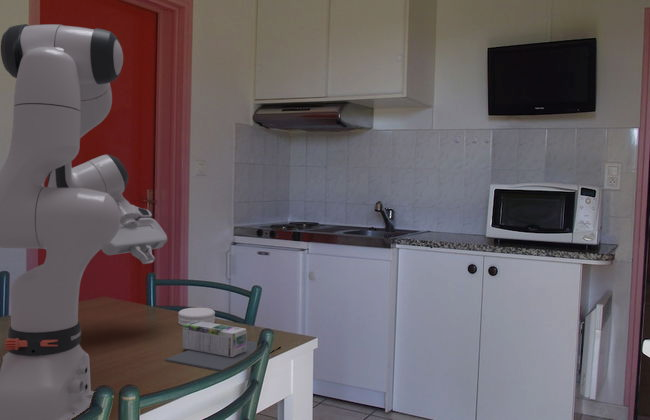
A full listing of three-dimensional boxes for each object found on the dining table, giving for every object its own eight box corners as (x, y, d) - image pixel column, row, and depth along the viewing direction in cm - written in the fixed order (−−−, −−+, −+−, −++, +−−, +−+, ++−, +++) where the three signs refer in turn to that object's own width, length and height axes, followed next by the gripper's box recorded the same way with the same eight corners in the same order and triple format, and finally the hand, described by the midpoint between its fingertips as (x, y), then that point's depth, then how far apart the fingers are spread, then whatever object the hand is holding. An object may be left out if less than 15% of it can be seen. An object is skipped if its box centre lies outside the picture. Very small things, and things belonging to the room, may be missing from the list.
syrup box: (197, 319, 155) (247, 327, 149) (197, 343, 156) (247, 352, 149) (181, 324, 150) (233, 332, 144) (182, 349, 151) (233, 358, 144)
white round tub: (175, 320, 180) (175, 308, 180) (211, 318, 184) (211, 306, 184) (181, 329, 171) (181, 316, 171) (218, 326, 175) (218, 313, 174)
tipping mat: (165, 360, 142) (165, 359, 142) (222, 338, 162) (222, 336, 162) (229, 373, 135) (229, 371, 135) (281, 347, 155) (281, 346, 155)
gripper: (94, 213, 150) (126, 258, 147) (153, 210, 169) (183, 249, 165) (80, 231, 153) (111, 275, 149) (140, 226, 171) (169, 265, 167)
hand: (149, 261), depth 157 cm, fingers closed
